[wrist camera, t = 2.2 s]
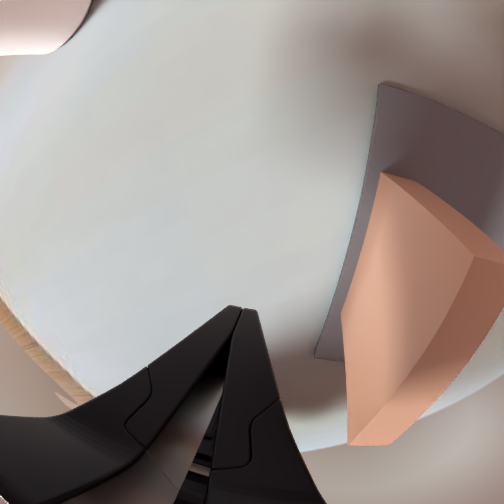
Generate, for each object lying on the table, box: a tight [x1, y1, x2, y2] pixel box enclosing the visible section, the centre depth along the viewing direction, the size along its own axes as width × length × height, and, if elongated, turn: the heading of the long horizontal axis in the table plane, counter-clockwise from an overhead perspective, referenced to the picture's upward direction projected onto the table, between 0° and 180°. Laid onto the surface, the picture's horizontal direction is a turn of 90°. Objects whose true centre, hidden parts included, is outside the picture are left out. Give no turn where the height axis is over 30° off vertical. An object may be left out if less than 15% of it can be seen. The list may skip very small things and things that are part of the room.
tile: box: [341, 172, 504, 446], centre depth 9 cm, size 8×2×8 cm, turn 175°
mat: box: [314, 84, 504, 362], centre depth 12 cm, size 16×12×1 cm
